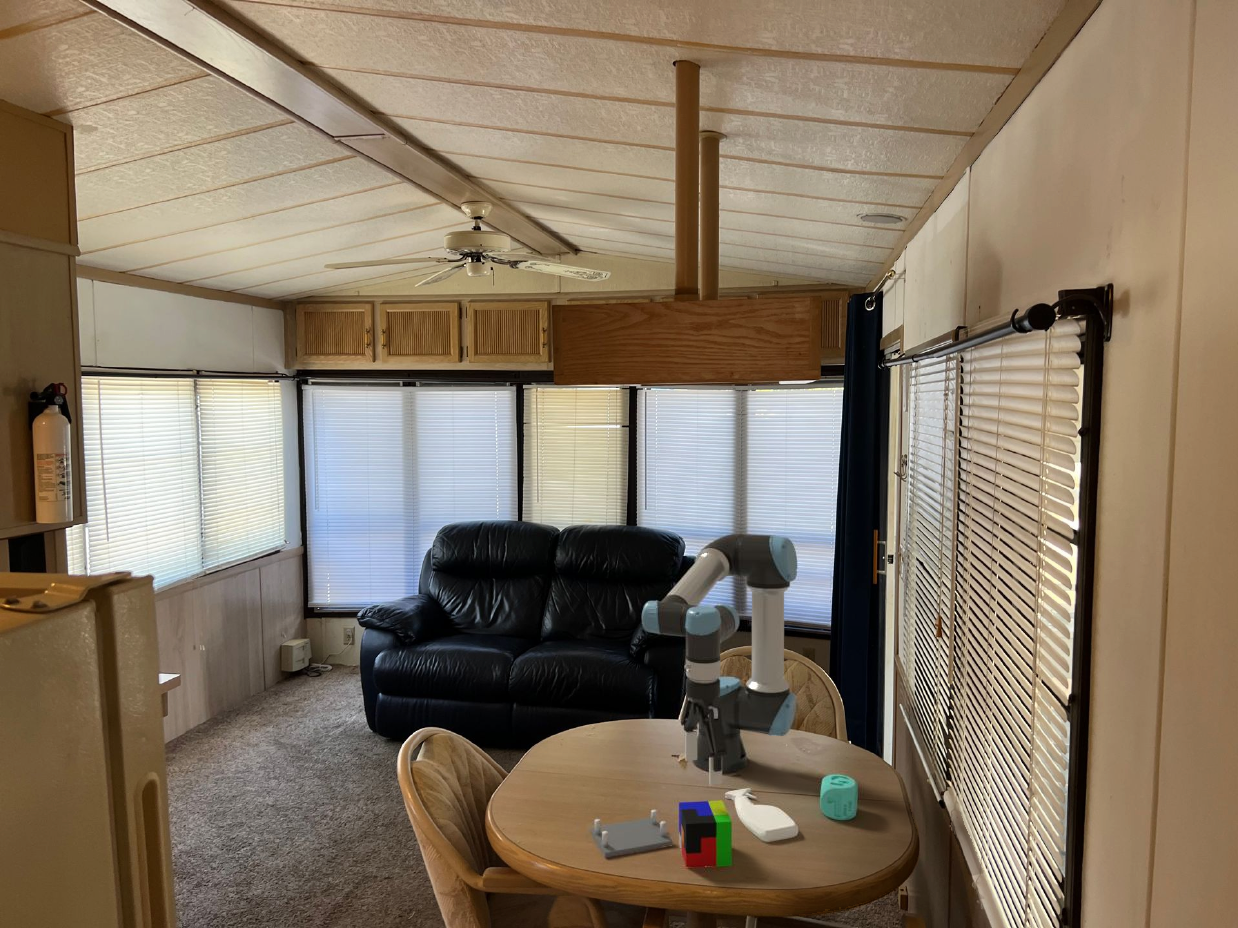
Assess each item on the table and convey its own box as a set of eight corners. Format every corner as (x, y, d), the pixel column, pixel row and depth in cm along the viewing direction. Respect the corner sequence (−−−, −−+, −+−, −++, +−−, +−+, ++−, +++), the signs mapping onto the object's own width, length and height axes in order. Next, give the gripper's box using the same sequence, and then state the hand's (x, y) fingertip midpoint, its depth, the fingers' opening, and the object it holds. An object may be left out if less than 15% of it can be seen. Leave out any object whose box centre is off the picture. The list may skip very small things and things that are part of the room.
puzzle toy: (679, 844, 197) (678, 802, 197) (722, 842, 198) (722, 800, 197) (686, 868, 187) (685, 823, 187) (731, 865, 188) (731, 821, 187)
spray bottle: (761, 845, 197) (715, 800, 221) (803, 837, 201) (754, 793, 224) (761, 832, 197) (715, 788, 220) (803, 824, 201) (753, 782, 224)
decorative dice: (819, 817, 210) (820, 785, 209) (824, 802, 217) (825, 771, 216) (853, 822, 207) (854, 790, 206) (857, 808, 214) (857, 776, 213)
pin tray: (653, 821, 208) (653, 804, 208) (672, 845, 197) (672, 827, 196) (589, 832, 203) (589, 814, 203) (605, 857, 192) (604, 839, 191)
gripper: (666, 663, 201) (666, 752, 202) (710, 697, 177) (710, 798, 179) (696, 660, 203) (696, 748, 205) (743, 693, 180) (743, 792, 181)
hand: (702, 771), depth 192 cm, fingers open, 13 cm apart
